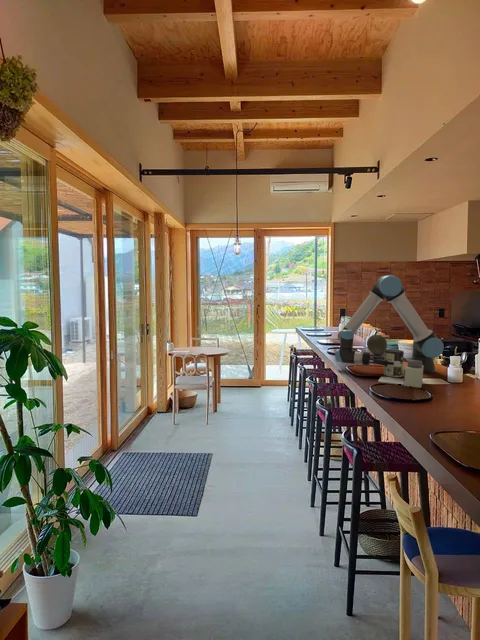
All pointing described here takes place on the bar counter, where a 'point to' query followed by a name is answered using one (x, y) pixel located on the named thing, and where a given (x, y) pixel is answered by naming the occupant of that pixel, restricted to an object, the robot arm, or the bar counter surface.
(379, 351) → the cantaloupe
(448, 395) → the bar counter surface
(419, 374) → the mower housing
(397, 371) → the coffee can
